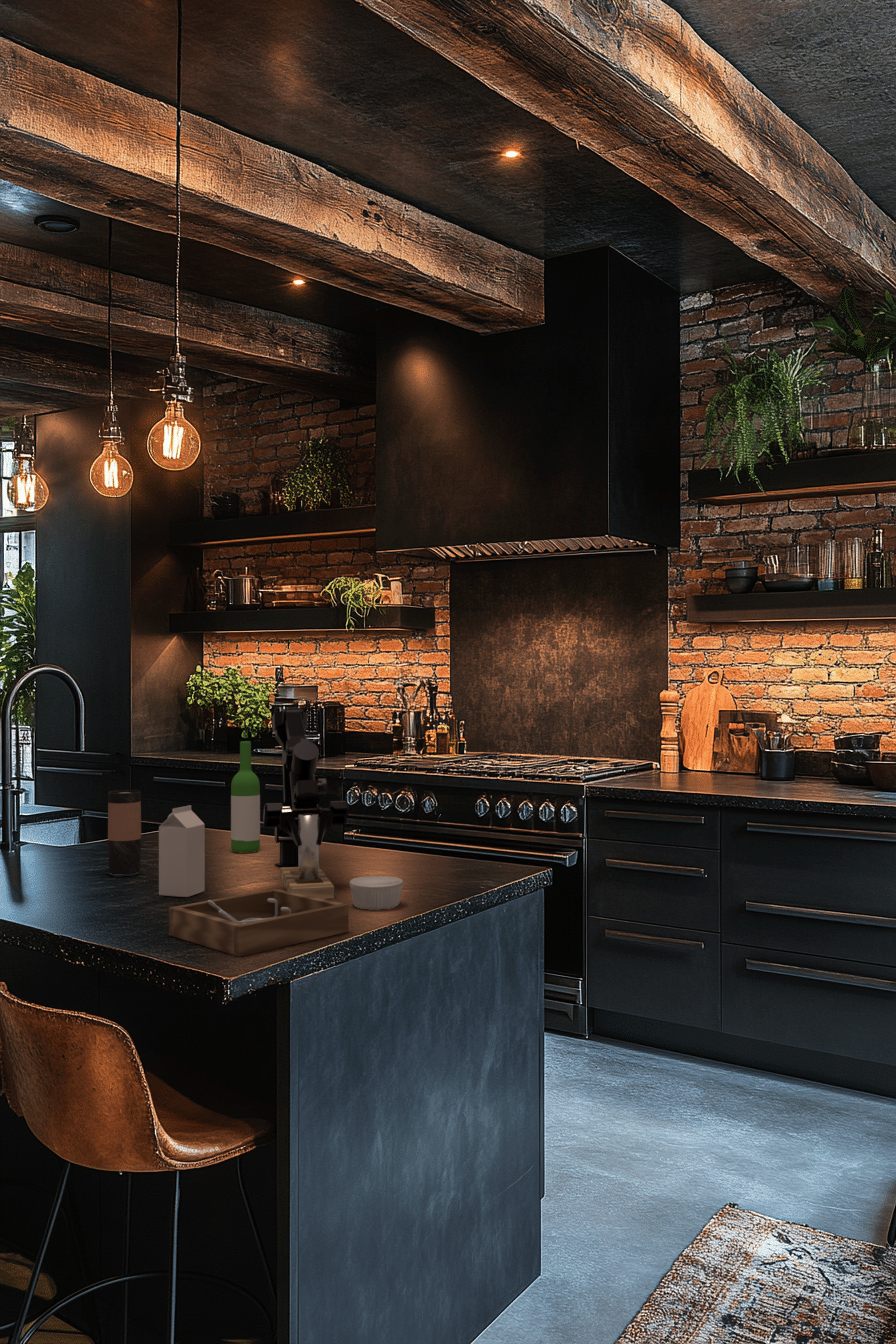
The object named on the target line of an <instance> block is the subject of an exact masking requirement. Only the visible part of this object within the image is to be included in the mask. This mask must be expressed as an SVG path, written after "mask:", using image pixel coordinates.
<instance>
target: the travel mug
mask: <svg viewBox="0 0 896 1344" xmlns="http://www.w3.org/2000/svg"><path fill="white" fill-rule="evenodd" d="M141 793H142V792H141V790H138V789H120V790H119V789H118V790H111V791H108V798H107V799H108V801H107V802H108V803H107V846H108V847H107V849H108V853H107V854H108V855H107V856H108V873H109V872H110V873H112V874H130V873H131V874H132V873H136V872H139V871H140V872H141V859H142V858H141V856H142V855H141V854H142V853H141V852H142V849H141V848H142V805H141V803H142V801H141V799H142V795H141Z"/></svg>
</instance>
